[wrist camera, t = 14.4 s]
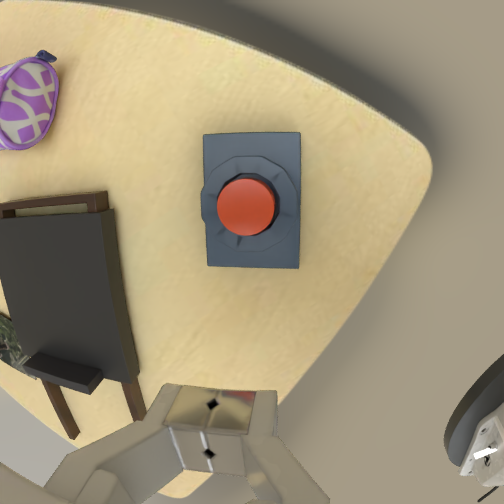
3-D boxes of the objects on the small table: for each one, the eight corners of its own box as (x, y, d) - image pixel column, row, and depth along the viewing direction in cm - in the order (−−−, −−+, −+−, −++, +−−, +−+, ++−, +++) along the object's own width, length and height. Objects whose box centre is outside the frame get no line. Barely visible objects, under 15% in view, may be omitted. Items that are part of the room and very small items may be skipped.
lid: (140, 372, 30) (119, 403, 25) (32, 346, 32) (9, 366, 27) (113, 208, 25) (78, 219, 20) (2, 216, 27) (-30, 225, 22)
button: (275, 230, 21) (274, 236, 20) (223, 229, 22) (217, 235, 20) (275, 177, 20) (274, 178, 19) (221, 177, 21) (216, 179, 19)
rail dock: (161, 456, 35) (157, 466, 33) (75, 430, 37) (69, 438, 35) (107, 190, 25) (95, 193, 23) (8, 201, 27) (-4, 204, 25)
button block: (298, 262, 25) (299, 277, 22) (212, 259, 26) (200, 274, 23) (300, 134, 22) (301, 129, 19) (208, 136, 23) (195, 132, 20)
